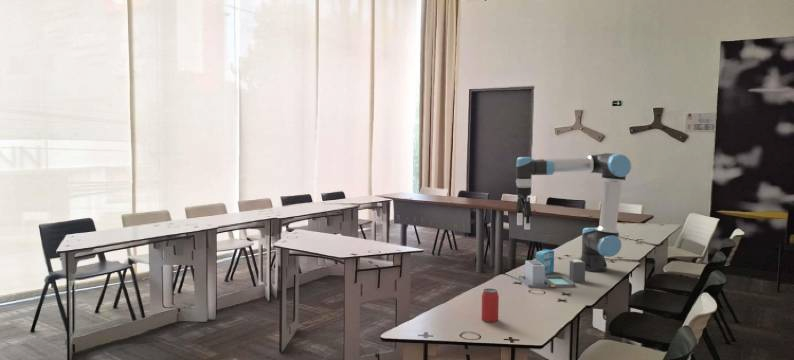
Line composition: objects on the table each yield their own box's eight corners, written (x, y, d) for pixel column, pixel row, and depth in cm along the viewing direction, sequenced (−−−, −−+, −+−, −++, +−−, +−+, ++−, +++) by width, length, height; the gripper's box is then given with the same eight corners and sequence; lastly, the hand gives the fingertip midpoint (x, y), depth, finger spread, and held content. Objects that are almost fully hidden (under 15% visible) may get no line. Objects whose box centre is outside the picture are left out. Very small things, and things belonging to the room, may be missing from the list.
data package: (542, 275, 279) (543, 253, 278) (535, 274, 282) (535, 252, 281) (553, 271, 287) (554, 250, 287) (546, 270, 291) (546, 248, 290)
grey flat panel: (562, 278, 274) (562, 275, 274) (576, 288, 255) (576, 285, 255) (518, 278, 272) (518, 276, 272) (529, 289, 254) (530, 286, 254)
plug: (580, 279, 271) (581, 259, 270) (584, 282, 266) (585, 261, 265) (569, 279, 271) (569, 259, 270) (573, 282, 266) (573, 262, 265)
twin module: (536, 279, 270) (537, 259, 270) (544, 286, 258) (544, 265, 258) (525, 279, 270) (525, 259, 269) (532, 286, 258) (532, 265, 257)
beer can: (479, 317, 213) (480, 288, 212) (495, 316, 214) (496, 287, 213) (483, 322, 207) (484, 292, 206) (500, 322, 207) (500, 292, 206)
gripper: (510, 184, 286) (510, 223, 287) (523, 189, 261) (523, 231, 262) (524, 184, 286) (523, 223, 288) (538, 188, 261) (538, 231, 263)
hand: (523, 227), depth 275 cm, fingers open, 13 cm apart
